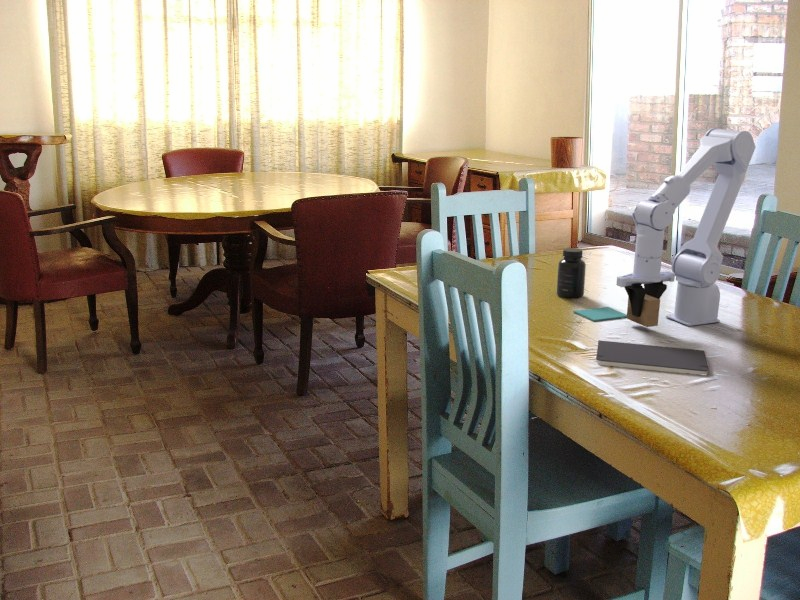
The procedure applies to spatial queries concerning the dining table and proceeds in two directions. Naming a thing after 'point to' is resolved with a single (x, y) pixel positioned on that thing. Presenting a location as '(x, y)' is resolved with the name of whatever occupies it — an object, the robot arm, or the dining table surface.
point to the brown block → (646, 312)
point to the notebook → (652, 357)
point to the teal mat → (600, 314)
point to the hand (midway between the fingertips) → (642, 314)
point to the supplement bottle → (571, 274)
